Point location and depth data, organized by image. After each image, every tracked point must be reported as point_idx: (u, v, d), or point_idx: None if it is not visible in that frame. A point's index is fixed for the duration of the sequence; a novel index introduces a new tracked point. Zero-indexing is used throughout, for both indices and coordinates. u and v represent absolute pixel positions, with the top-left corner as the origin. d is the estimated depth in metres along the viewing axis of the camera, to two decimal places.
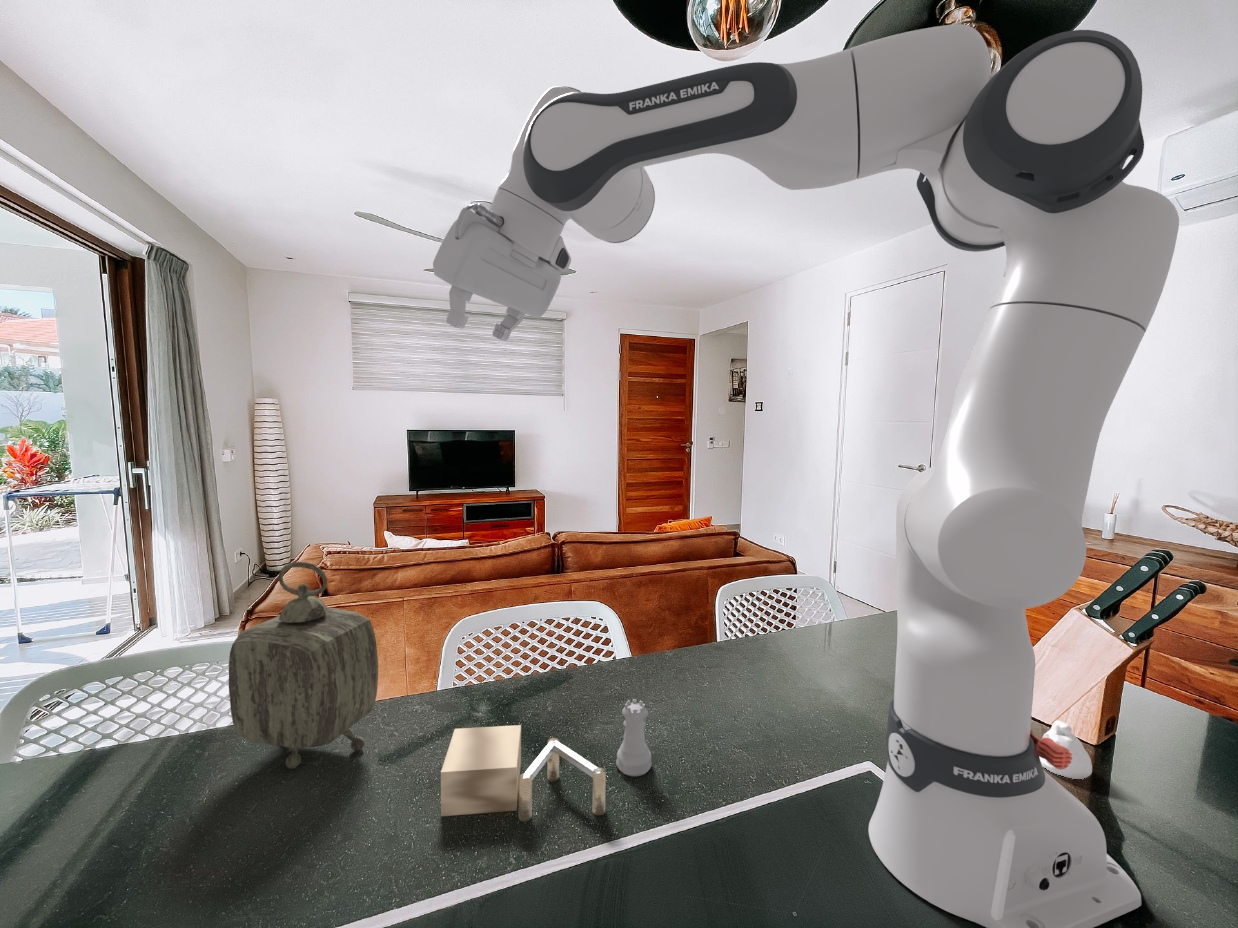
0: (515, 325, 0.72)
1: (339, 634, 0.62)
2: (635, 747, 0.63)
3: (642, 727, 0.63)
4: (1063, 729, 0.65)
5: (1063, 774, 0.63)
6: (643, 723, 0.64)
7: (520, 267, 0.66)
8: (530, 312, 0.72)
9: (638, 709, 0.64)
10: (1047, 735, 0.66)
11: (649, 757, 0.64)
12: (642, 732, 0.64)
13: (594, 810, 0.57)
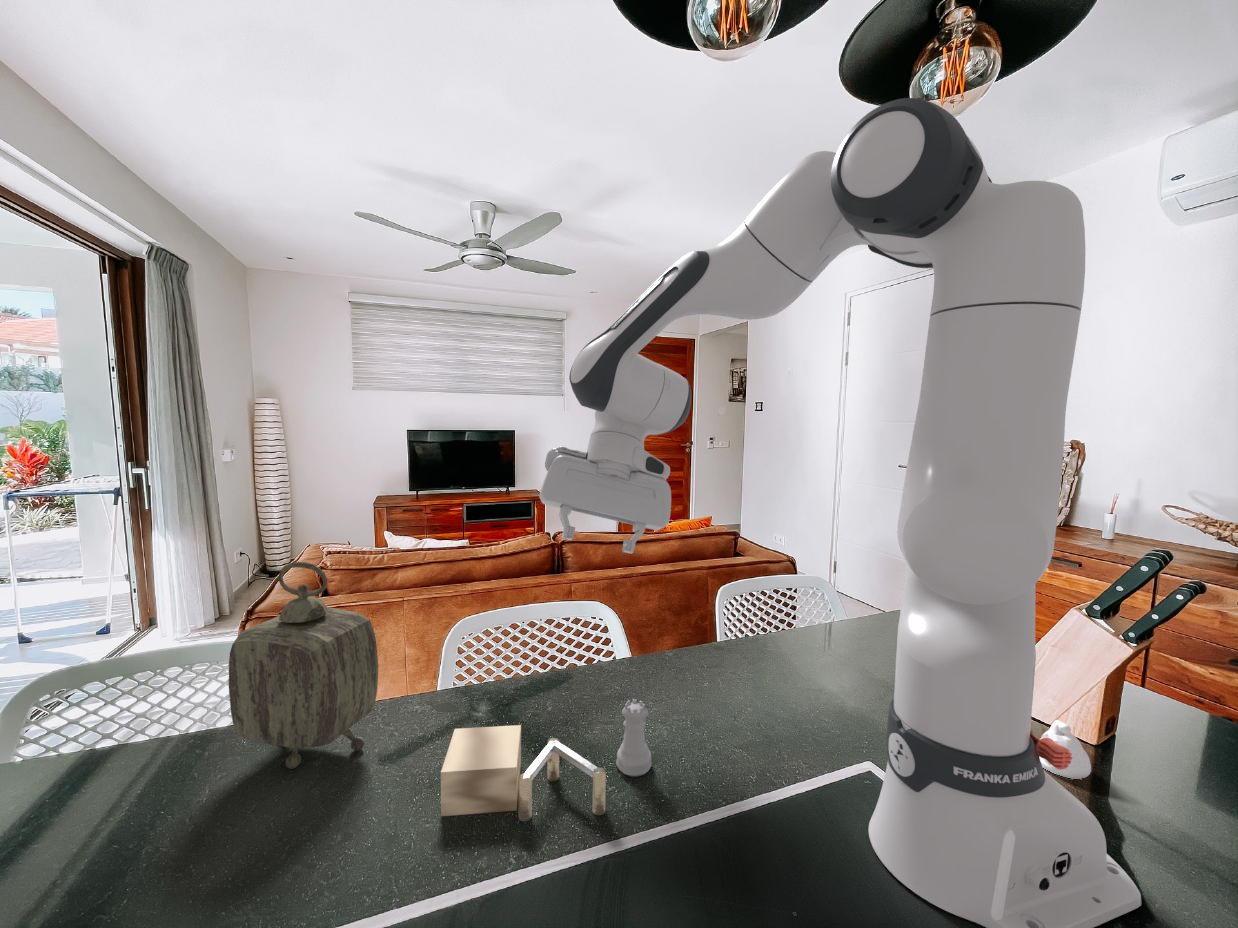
0: (637, 535, 0.78)
1: (339, 634, 0.62)
2: (635, 747, 0.63)
3: (642, 727, 0.63)
4: (1062, 729, 0.65)
5: (1062, 774, 0.63)
6: (643, 723, 0.64)
7: (615, 481, 0.79)
8: (646, 519, 0.78)
9: (638, 709, 0.64)
10: (1046, 735, 0.66)
11: (649, 757, 0.64)
12: (642, 732, 0.64)
13: (594, 810, 0.57)
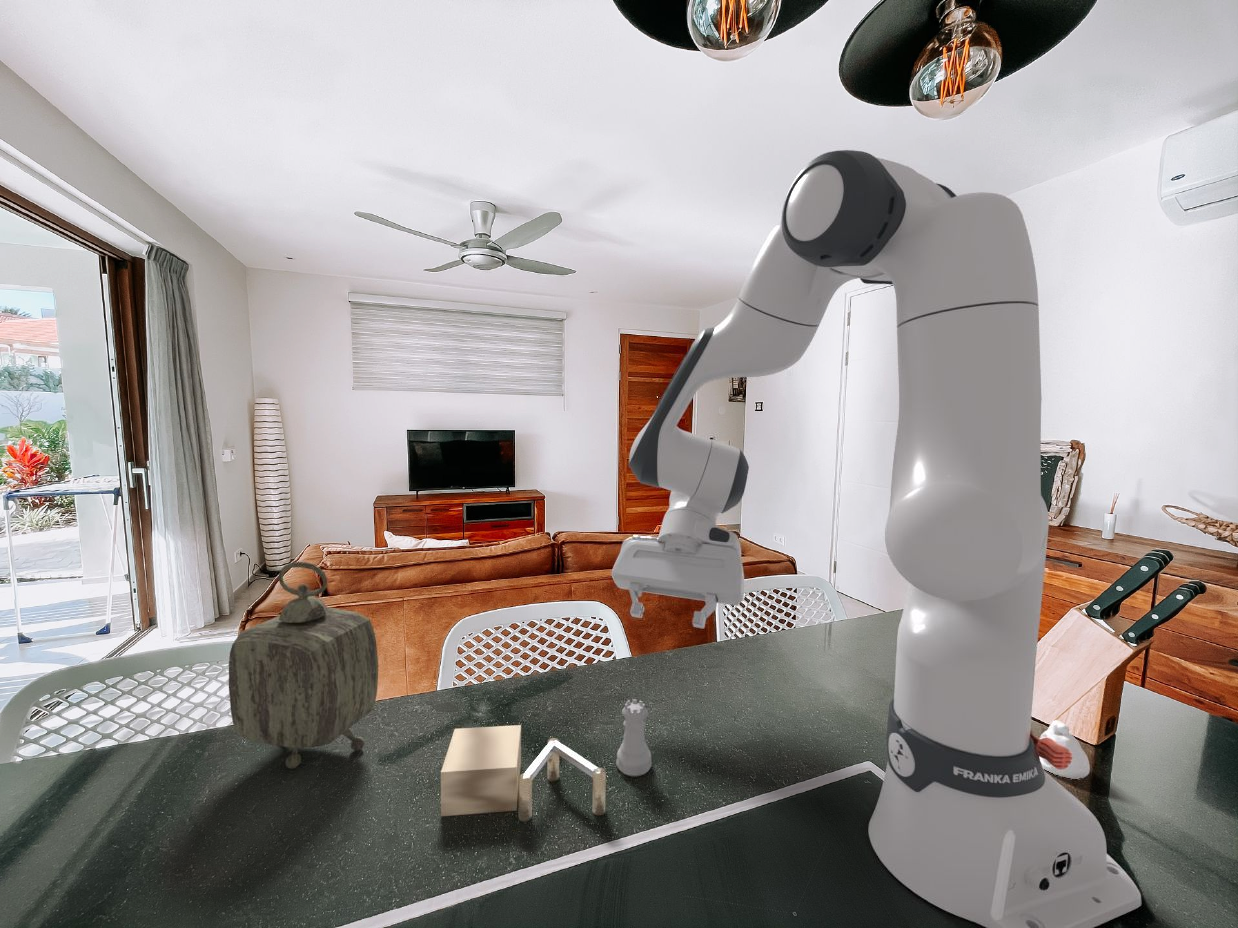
0: (706, 606, 0.74)
1: (339, 634, 0.62)
2: (635, 747, 0.63)
3: (642, 727, 0.63)
4: (1060, 729, 0.65)
5: (1061, 774, 0.63)
6: (643, 723, 0.64)
7: (682, 556, 0.79)
8: (714, 588, 0.74)
9: (638, 709, 0.64)
10: (1045, 735, 0.66)
11: (649, 757, 0.64)
12: (642, 732, 0.64)
13: (594, 810, 0.57)
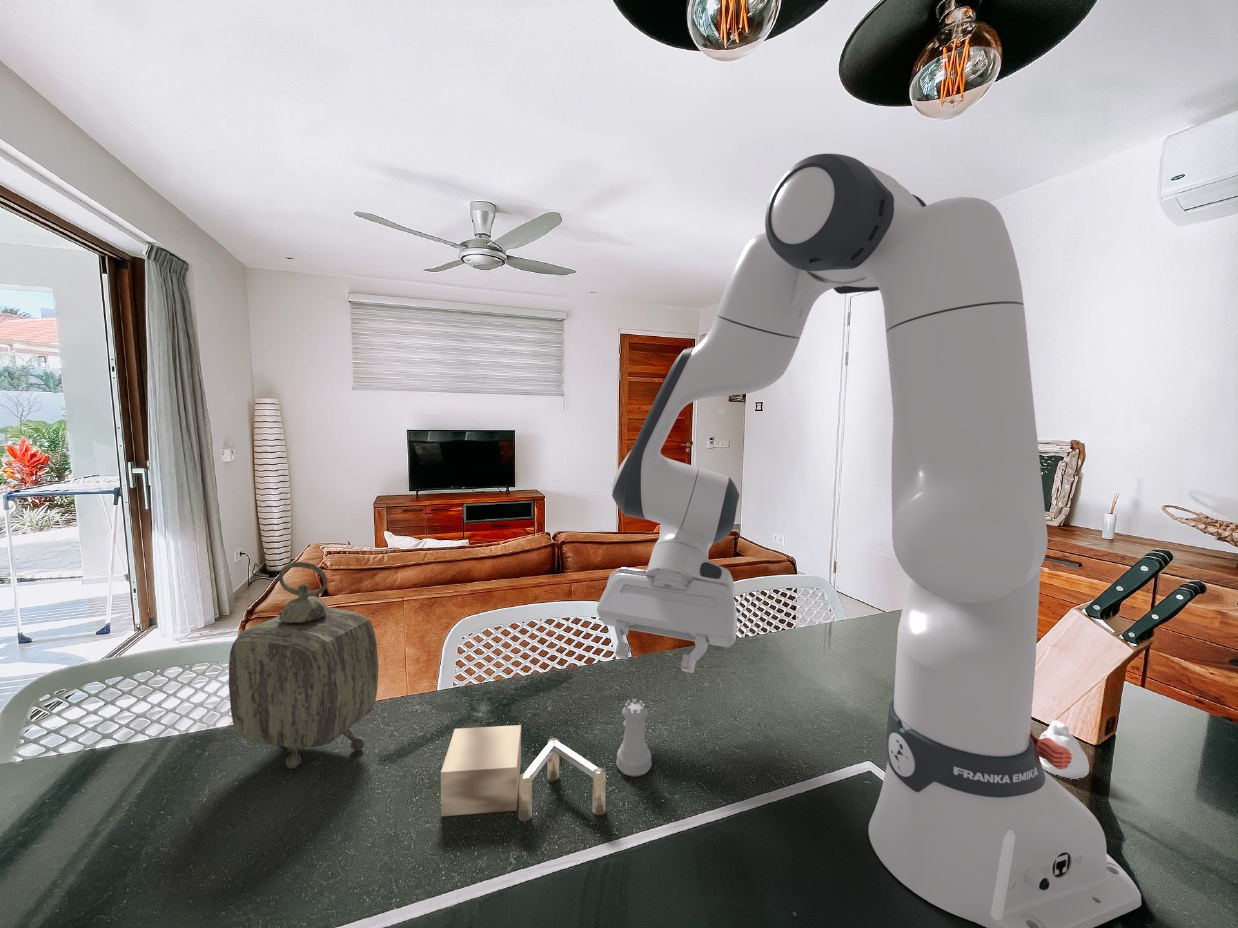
0: (696, 649, 0.69)
1: (339, 634, 0.62)
2: (635, 747, 0.63)
3: (642, 727, 0.63)
4: (1060, 729, 0.65)
5: (1060, 774, 0.63)
6: (643, 723, 0.64)
7: (672, 593, 0.75)
8: (704, 629, 0.70)
9: (638, 709, 0.64)
10: (1044, 735, 0.66)
11: (649, 757, 0.64)
12: (642, 732, 0.64)
13: (594, 810, 0.57)
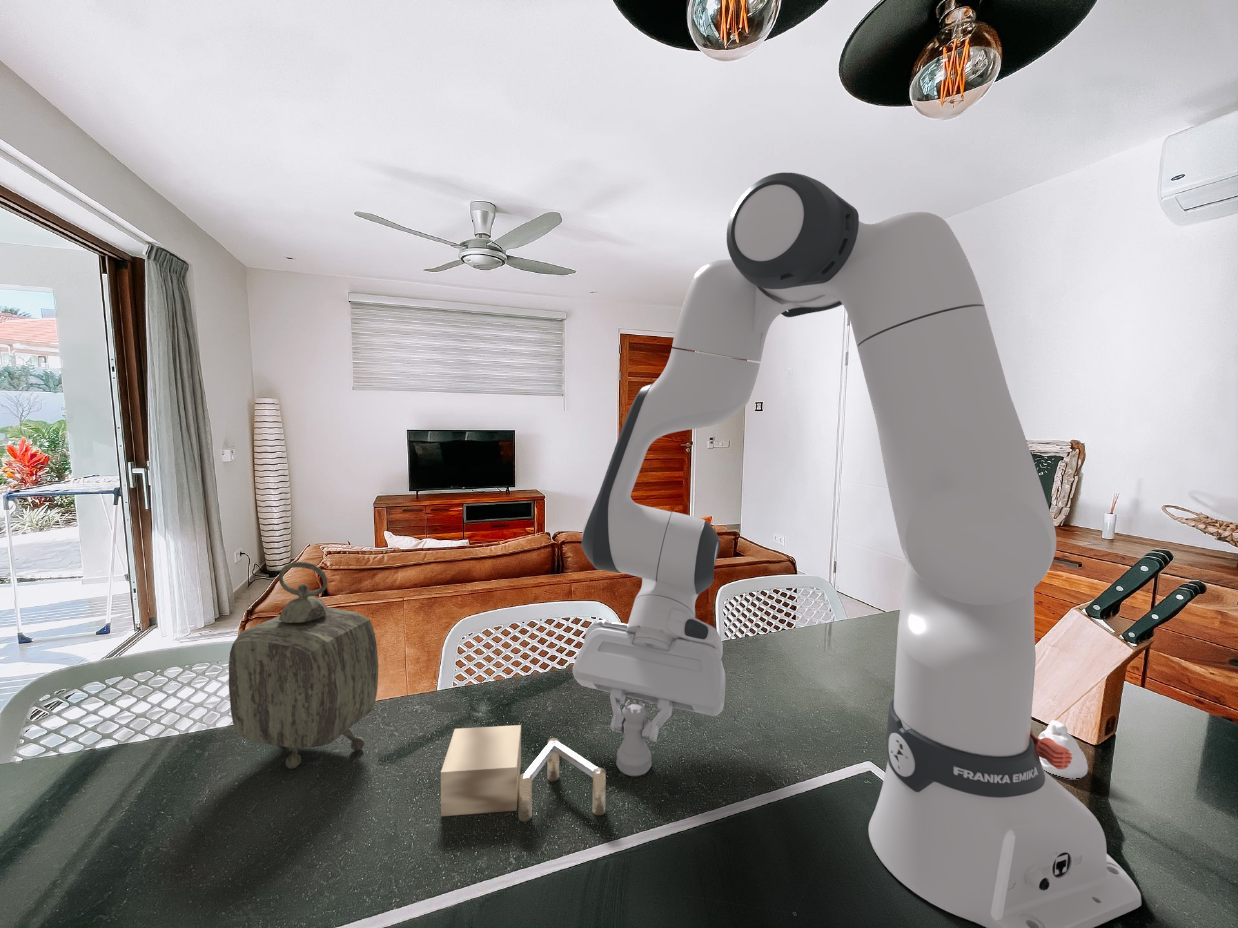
0: (658, 716, 0.63)
1: (339, 634, 0.62)
2: (635, 747, 0.63)
3: (642, 727, 0.63)
4: (1058, 729, 0.65)
5: (1059, 774, 0.63)
6: (643, 723, 0.64)
7: (654, 653, 0.68)
8: (689, 698, 0.63)
9: (638, 709, 0.64)
10: (1043, 735, 0.66)
11: (649, 757, 0.64)
12: None
13: (594, 810, 0.57)
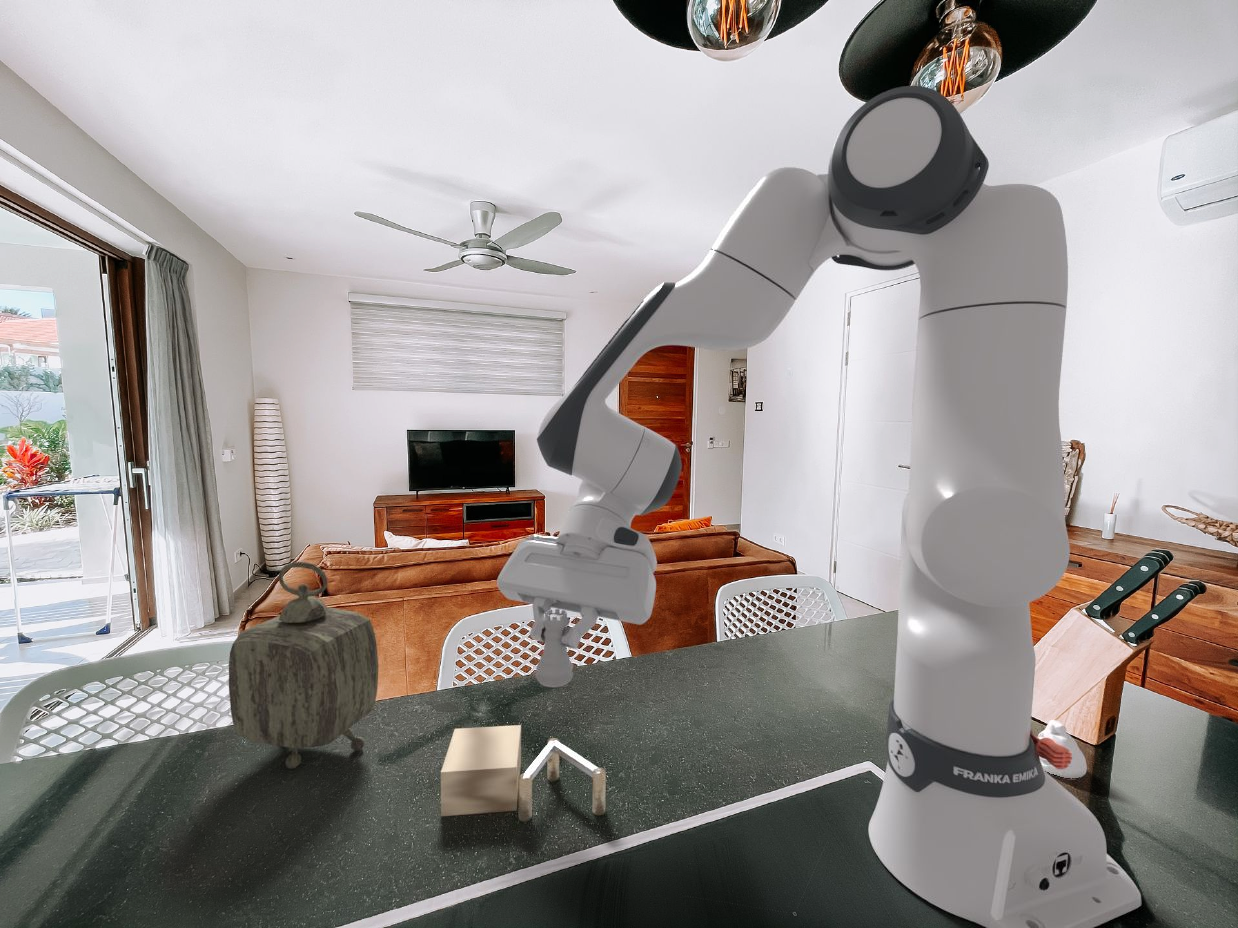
0: (580, 622, 0.60)
1: (339, 634, 0.62)
2: (554, 657, 0.59)
3: None
4: (1057, 728, 0.65)
5: (1058, 773, 0.63)
6: None
7: (582, 562, 0.65)
8: (612, 603, 0.59)
9: (558, 617, 0.60)
10: (1042, 734, 0.66)
11: (570, 668, 0.60)
12: None
13: (594, 810, 0.57)
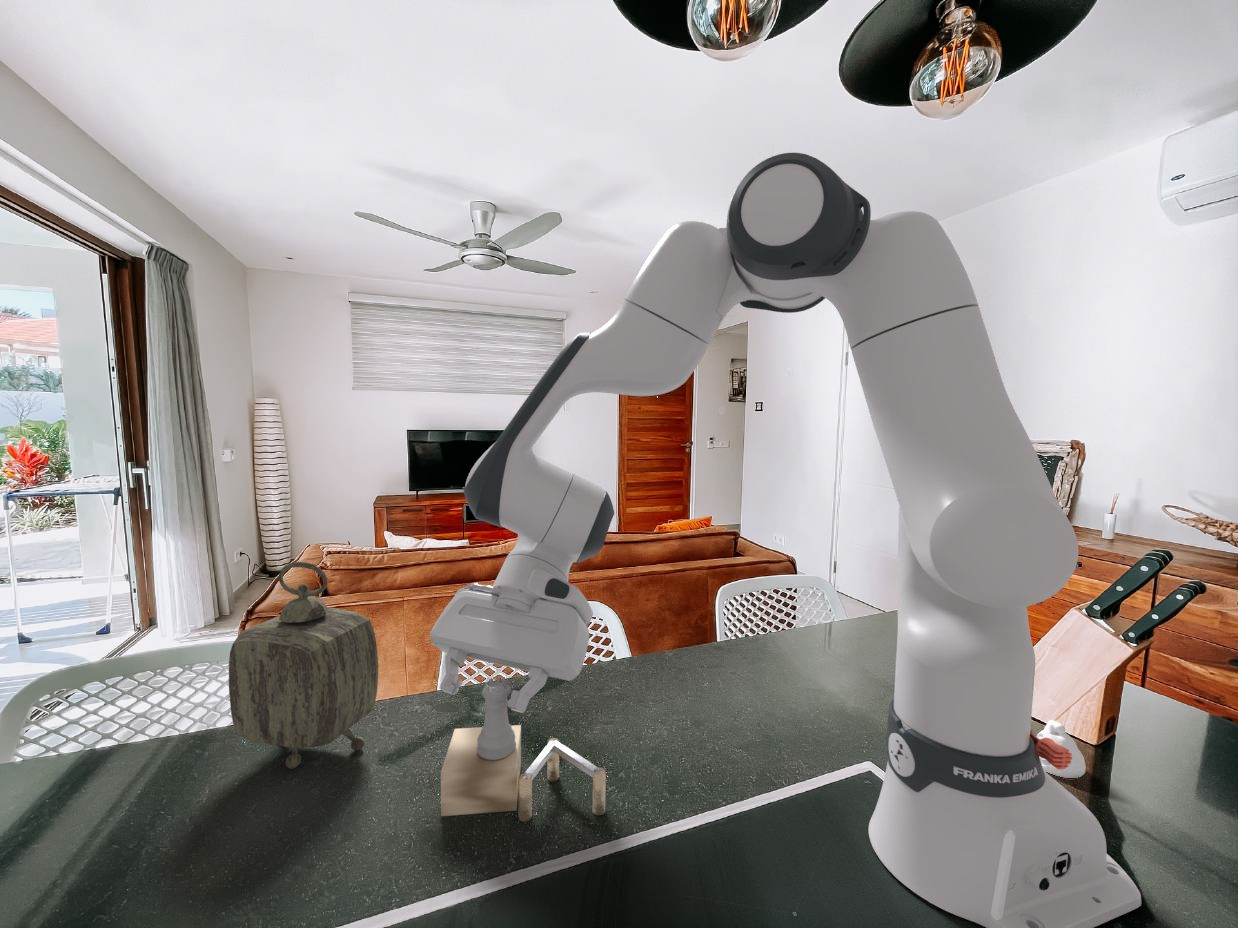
0: (527, 684, 0.58)
1: (339, 634, 0.62)
2: (494, 729, 0.58)
3: (502, 707, 0.58)
4: (1056, 728, 0.65)
5: (1056, 773, 0.64)
6: (504, 703, 0.58)
7: (514, 615, 0.64)
8: (539, 660, 0.58)
9: (498, 687, 0.58)
10: (1041, 734, 0.66)
11: (511, 740, 0.58)
12: (503, 713, 0.58)
13: (594, 810, 0.57)
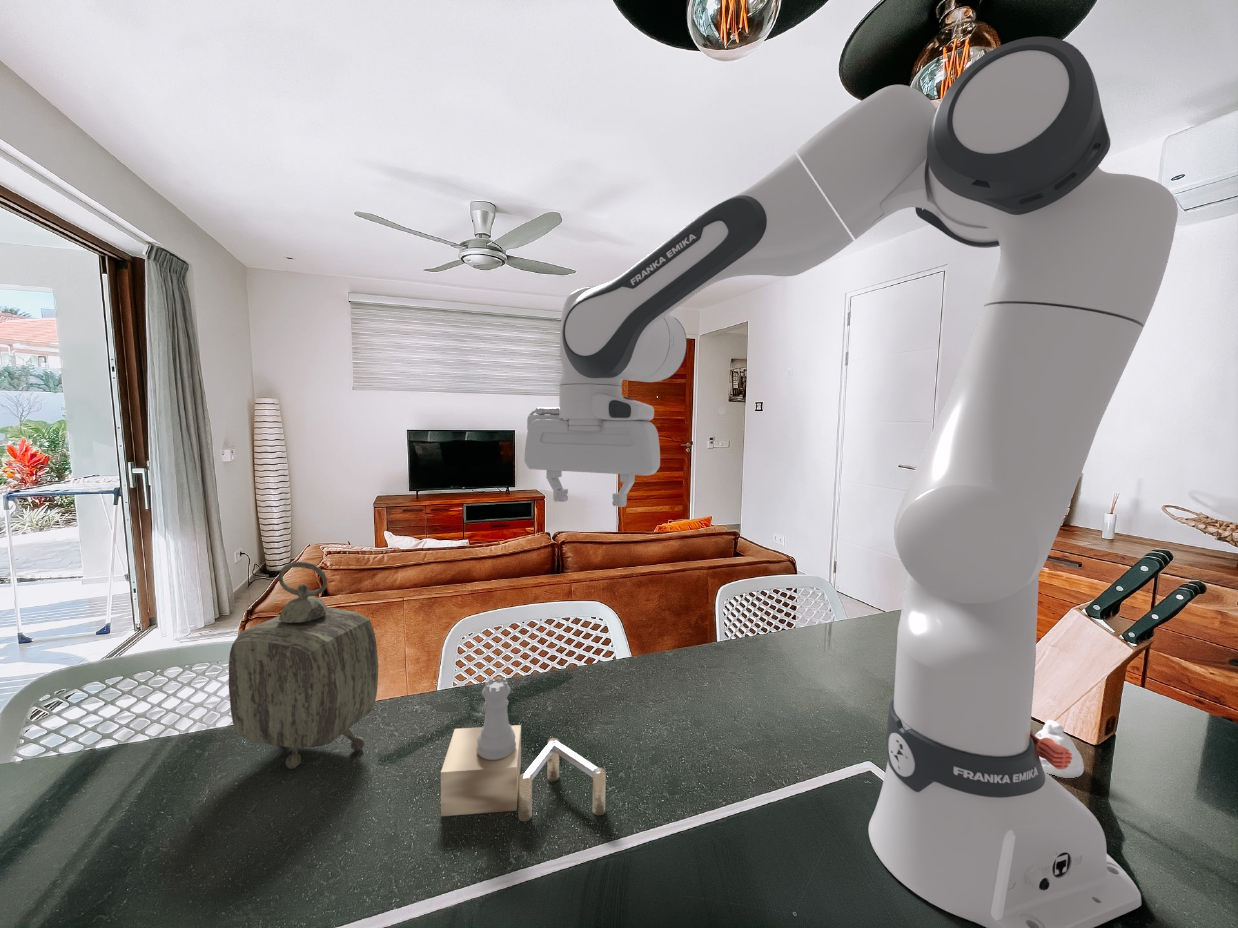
0: (623, 488, 0.71)
1: (339, 634, 0.62)
2: (494, 729, 0.58)
3: (502, 707, 0.58)
4: (1054, 728, 0.65)
5: (1055, 773, 0.64)
6: (504, 703, 0.58)
7: (589, 434, 0.72)
8: (626, 470, 0.70)
9: (498, 687, 0.58)
10: (1039, 734, 0.66)
11: (511, 740, 0.58)
12: (503, 713, 0.58)
13: (594, 810, 0.57)
